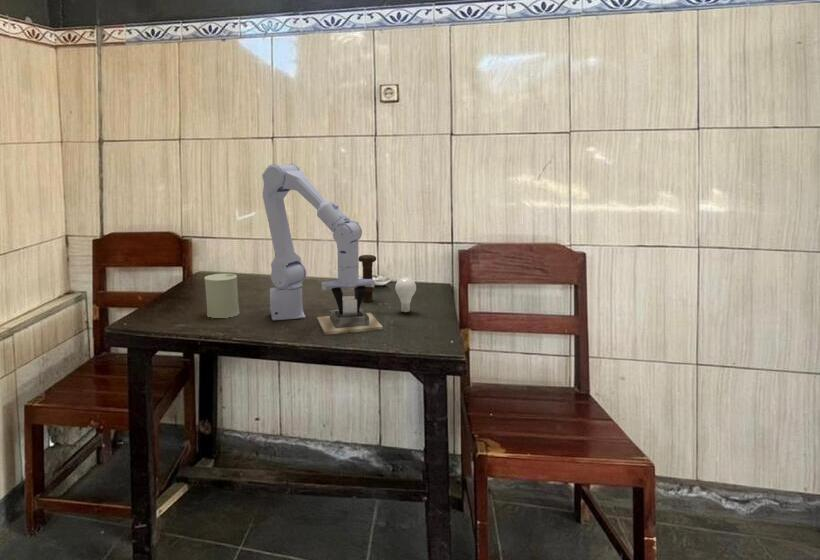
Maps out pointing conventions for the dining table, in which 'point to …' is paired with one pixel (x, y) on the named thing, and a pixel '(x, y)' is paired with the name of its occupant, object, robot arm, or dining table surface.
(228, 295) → the can
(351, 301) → the peg
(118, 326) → the dining table surface
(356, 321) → the socket base
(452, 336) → the dining table surface
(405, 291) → the lightbulb
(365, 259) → the bolt
